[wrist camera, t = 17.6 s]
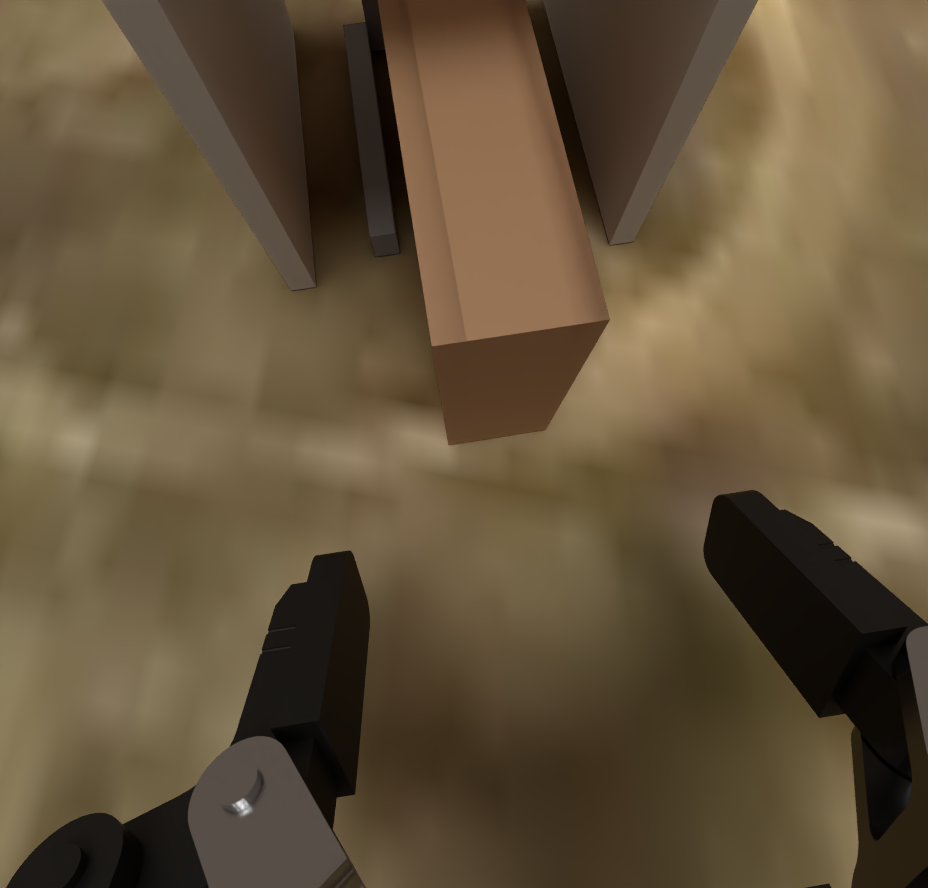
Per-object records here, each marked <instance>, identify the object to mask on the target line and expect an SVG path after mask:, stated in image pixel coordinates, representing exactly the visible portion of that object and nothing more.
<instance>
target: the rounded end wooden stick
mask: <svg viewBox="0 0 928 888" xmlns="http://www.w3.org/2000/svg"><path fill="white" fill-rule="evenodd" d="M378 6H379V12H380V18H381V25H382V31H383V38H384V44H385V50H386V57H387V63H388V70H389V76H390V82H391V89H392V95H393V101H394V108H395V114H396V121H397V127H398V133H399V140H400V146H401V153H402V159H403V165H404V172H405V178H406V185H407V191H408V197H409V204H410V210H411V216H412V223H413V229H414V236H415V242H416V248H417V255H418V261H419V268H420V274H421V280H422V287H423V293H424V300H425V306H426V312H427V319H428V325H429V331H430V338H431V344H432V350H433V356H434V362H435V368H436V374H437V380H438V386H439V392H440V398H441V404H442V409H443V415H444V421H445V427H446V433H447V439H448V445H453V444H459V443H465V442H472V441H478V440H484V439H491V438H497V437H503V436H510V435H516V434H522V433H529V432H535V431H541V430H546V428H547V426H548V425H549V423H550V421H551V419H552V418H553V416H554V414H555V413H556V411H557V409H558V408H559V406H560V404H561V402H562V401H563V399H564V397H565V396H566V394H567V392H568V390H569V389H570V387H571V385H572V384H573V382H574V380H575V378H576V377H577V375H578V373H579V372H580V370H581V368H582V366H583V365H584V363H585V361H586V360H587V358H588V356H589V354H590V353H591V351H592V349H593V348H594V346H595V344H596V343H597V341H598V339H599V337H600V336H601V334H602V332H603V331H604V329H605V327H606V325H607V324H608V322H609V320H610V318H609V314H608V310H607V307H606V303H605V299H604V295H603V292H602V288H601V284H600V280H599V276H598V273H597V269H596V265H595V261H594V257H593V254H592V250H591V246H590V242H589V239H588V235H587V231H586V227H585V223H584V220H583V216H582V212H581V208H580V205H579V201H578V197H577V193H576V189H575V186H574V182H573V178H572V174H571V170H570V167H569V163H568V159H567V155H566V152H565V148H564V144H563V140H562V136H561V133H560V129H559V125H558V121H557V118H556V114H555V110H554V106H553V102H552V99H551V95H550V91H549V87H548V83H547V80H546V76H545V72H544V68H543V65H542V61H541V57H540V53H539V49H538V46H537V42H536V38H535V34H534V31H533V27H532V23H531V19H530V15H529V12H528V8H527V4H526V0H378Z"/></svg>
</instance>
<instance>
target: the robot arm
mask: <svg viewBox="0 0 928 888" xmlns="http://www.w3.org/2000/svg"><path fill="white" fill-rule="evenodd" d="M703 551H704V559H705V562H706V565H707V568H708V570H709V572H710V573H711V575H712V576H713V578H714V579H715V580H716V582H717V583H718V584H719V586H720V587H721V588H722V590H723V591H724V592H725V594H726V595H727V596H728V598H729V599H730V600H731V602H732V603H733V604H734V606H735V607H736V608H737V609H738V611H739V612H740V613H741V615H742V616H743V617H744V619H745V620H746V621H747V623H748V624H749V625H750V627H751V628H752V629H753V631H754V632H755V633H756V635H757V636H758V637H759V639H760V640H761V641H762V643H763V644H764V645H765V647H766V648H767V649H768V651H769V652H770V653H771V655H772V656H773V657H774V659H775V660H776V661H777V663H778V664H779V665H780V667H781V668H782V669H783V671H784V672H785V673H786V675H787V676H788V677H789V679H790V680H791V681H792V682H793V684H794V685H795V686H796V688H797V689H798V690H799V692H800V693H801V694H802V696H803V697H804V698H805V700H806V701H807V702H808V704H809V705H810V706H811V708H812V709H813V710H814V712H815V713H816V714H817V716H818V717H819V718H822V717H828V716H834V715H840V714H846V715H847V716H848V717H849V719H850V720H851V721H852V722H853V724H854V725H855V726H854V728H853V730H852V733H851V746H852V759H853V772H854V786H855V799H856V813H857V826H858V841H859V846H858V857H857V862H856V866H855V869H854V873H853V879H852V886H851V888H928V623H926V622H925V621H924V620H923V619H921V618H920V617H919V616H918V615H917V614H916V613H915V612H913V611H912V610H911V609H910V608H909V607H908V606H907V605H905V604H904V603H903V602H902V601H901V600H900V599H898V598H897V597H896V596H895V595H894V594H893V593H892V592H890V591H889V590H888V589H887V588H886V587H885V586H883V585H882V584H881V583H880V582H879V581H878V580H877V579H875V578H874V577H873V576H872V575H871V574H870V573H868V572H867V571H866V570H865V569H864V568H863V567H862V566H860V565H859V564H858V563H857V562H856V561H855V562H853V561H852V560H851V557H850V556H849V555H848V554H847V553H845V552H844V551H843V550H842V549H841V548H840V547H839V546H834V544H833V541H832V540H830V539H829V538H828V537H827V536H826V535H825V534H824V533H822V532H821V531H820V530H819V529H818V528H817V527H815V526H814V525H813V524H812V523H810V522H808V521H806V520H804V519H802V518H800V517H798V516H796V515H795V514H793V513H791V512H789V511H787V510H779V509H778V508H777V507H775V506H774V505H773V504H772V503H771V502H770V501H769V500H768V499H767V498H766V497H764V496H763V495H762V494H761V493H760V492H758V491H755V490H749V491H743V492H736V493H730V494H723V495H718V496H717V497H716V498H715V499H714V501H713V504H712V509H711V513H710V518H709V523H708V528H707V533H706V537H705V542H704V549H703ZM369 630H370V614H369V606H368V600H367V596H366V593H365V590H364V587H363V584H362V581H361V577H360V574H359V571H358V568H357V565H356V561H355V558H354V555H353V553H352V552H351V551H343V552H336V553H329V554H323V555H316V556H315V557H314V558H313V561H312V564H311V568H310V572H309V576H308V580H307V582H304V583H298V584H292V585H291V586H290V587H289V589H288V590H287V591H286V593H285V594H284V595H283V597H282V598H281V599H280V600H279V602H278V603H277V604H276V606H275V609H274V612H273V615H272V618H271V622H270V625H269V628H268V634H267V635H266V638H265V641H264V644H263V647H262V654H260V657H259V660H258V664H257V667H256V670H255V673H254V676H253V680H252V683H251V686H250V689H249V693H248V696H247V699H246V702H245V705H244V709H243V712H242V715H241V718H240V722H239V725H238V728H237V731H236V734H235V737H234V739H233V741H232V743H231V745H230V747H229V748H228V749H226V750H225V751H223V752H222V753H221V754H220V755H219V756H218V757H216V758H215V760H214V761H213V762H212V763H211V764H210V765H209V766H208V767H207V769H206V770H205V771H204V773H203V774H202V776H201V777H200V779H199V781H198V782H197V784H196V785H195V786H194V787H193V788H191V789H190V790H188V791H187V792H185V793H183V794H181V795H180V796H178V797H176V798H174V799H172V800H170V801H168V802H166V803H164V804H162V805H160V806H158V807H156V808H154V809H152V810H150V811H148V812H146V813H144V814H142V815H140V816H138V817H136V818H134V819H132V820H130V821H128V822H126V823H125V824H123V825H122V824H121V823H120V822H119V821H118V820H117V819H116V818H114V817H113V816H112V815H109V814H106V813H94V814H89V815H85V816H82V817H80V818H77V819H75V820H73V821H71V822H69V823H68V824H66V825H64V826H63V827H61V828H60V829H58V830H57V831H56V832H54V833H53V834H52V835H50V836H49V837H48V838H47V839H46V840H44V841H43V842H42V843H41V844H40V845H39V846H38V847H37V848H36V849H35V850H34V851H33V852H32V853H31V854H30V855H29V856H28V858H27V859H26V860H25V861H24V862H23V864H22V865H21V866H20V867H19V869H18V870H17V872H16V873H15V874H14V876H13V877H12V879H11V880H10V882H9V884H8V885H7V887H6V888H366V887H365V886H364V884H363V882H362V880H361V878H360V877H359V875H358V873H357V871H356V870H355V868H354V866H353V864H352V863H351V861H350V859H349V857H348V856H347V854H346V852H345V850H344V849H343V847H342V845H341V843H340V842H339V840H338V838H337V836H336V834H335V833H334V831H333V824H334V815H335V807H336V798H337V797H343V796H349V795H354V794H355V790H356V778H357V767H358V755H359V744H360V733H361V721H362V710H363V698H364V687H365V675H366V664H367V653H368V641H369ZM807 888H831V886H830V885H829V884H824V885H818V886H813V887H807Z"/></svg>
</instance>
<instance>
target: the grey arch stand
mask: <svg viewBox="0 0 928 888" xmlns="http://www.w3.org/2000/svg"><path fill="white" fill-rule="evenodd" d="M102 1H103V3H104V4H105V6H106V7H107V9H108V10H109V12H110V14H111V15H112V17H113V18H114V20H115V21H116V23H117V24H118V26H119V27H120V29H121V30H122V32H123V33H124V35H125V37H126V38H127V40H128V41H129V43H130V44H131V46H132V47H133V49H134V50H135V52H136V53H137V55H138V56H139V58H140V60H141V61H142V63H143V64H144V66H145V67H146V69H147V70H148V72H149V73H150V75H151V76H152V78H153V79H154V81H155V82H156V84H157V86H158V87H159V89H160V90H161V92H162V93H163V95H164V96H165V98H166V99H167V101H168V102H169V104H170V105H171V107H172V109H173V110H174V112H175V113H176V115H177V116H178V118H179V119H180V121H181V122H182V124H183V125H184V127H185V128H186V130H187V132H188V133H189V135H190V136H191V138H192V139H193V141H194V142H195V144H196V145H197V147H198V148H199V150H200V151H201V153H202V155H203V156H204V158H205V159H206V161H207V162H208V164H209V165H210V167H211V168H212V170H213V171H214V173H215V174H216V176H217V178H218V179H219V181H220V182H221V184H222V185H223V187H224V188H225V190H226V191H227V193H228V194H229V196H230V197H231V199H232V200H233V202H234V204H235V205H236V207H237V208H238V210H239V211H240V213H241V214H242V216H243V217H244V219H245V220H246V222H247V223H248V225H249V227H250V228H251V230H252V231H253V233H254V234H255V236H256V237H257V239H258V240H259V242H260V243H261V245H262V246H263V248H264V250H265V251H266V253H267V254H268V256H269V257H270V259H271V260H272V262H273V263H274V265H275V266H276V268H277V269H278V271H279V273H280V274H281V276H282V277H283V279H284V280H285V282H286V283H287V285H288V286H289V288H290V289H291V291H292V290H299V289H306V288H313V287H316V279H315V267H314V256H313V245H312V233H311V222H310V211H309V199H308V188H307V177H306V165H305V154H304V143H303V131H302V120H301V109H300V97H299V86H298V75H297V63H296V52H295V41H294V29H293V26H292V23H291V20H290V17H289V14H288V11H287V8H286V5H285V2H284V0H102ZM757 1H758V0H543V3H544V6H545V10H546V14H547V17H548V21H549V25H550V28H551V32H552V36H553V39H554V43H555V47H556V50H557V54H558V58H559V61H560V65H561V69H562V72H563V76H564V80H565V83H566V87H567V91H568V94H569V98H570V102H571V105H572V109H573V113H574V117H575V120H576V124H577V128H578V131H579V135H580V139H581V142H582V146H583V150H584V153H585V157H586V161H587V164H588V168H589V172H590V175H591V179H592V183H593V186H594V190H595V194H596V197H597V201H598V205H599V208H600V212H601V216H602V219H603V223H604V227H605V230H606V234H607V238H608V242H609V245H614V244H621V243H628V242H634V240H635V238H636V236H637V234H638V232H639V230H640V228H641V226H642V224H643V222H644V220H645V218H646V216H647V214H648V213H649V211H650V209H651V207H652V205H653V203H654V201H655V199H656V197H657V195H658V193H659V191H660V189H661V187H662V185H663V183H664V181H665V180H666V178H667V176H668V174H669V172H670V170H671V168H672V166H673V164H674V162H675V160H676V158H677V156H678V154H679V152H680V150H681V149H682V147H683V145H684V143H685V141H686V139H687V137H688V135H689V133H690V131H691V129H692V127H693V125H694V123H695V121H696V119H697V118H698V116H699V114H700V112H701V110H702V108H703V106H704V104H705V102H706V100H707V98H708V96H709V94H710V92H711V90H712V88H713V86H714V85H715V83H716V81H717V79H718V77H719V75H720V73H721V71H722V69H723V67H724V65H725V63H726V61H727V59H728V57H729V55H730V54H731V52H732V50H733V48H734V46H735V44H736V42H737V40H738V38H739V36H740V34H741V32H742V30H743V28H744V26H745V24H746V23H747V21H748V19H749V17H750V15H751V13H752V11H753V9H754V7H755V5H756V3H757ZM362 5H363V10H364V15H365V21H366V22H363V23H355V24H347V25H343V27H344V36H345V44H346V52H347V60H348V68H349V76H350V84H351V92H352V100H353V108H354V116H355V124H356V132H357V140H358V148H359V156H360V164H361V173H362V181H363V189H364V197H365V205H366V213H367V221H368V229H369V237H370V240H371V243H372V247H373V250H374V253H375V257H378V256H385V255H392V254H399V253H400V250H399V243H398V236H397V229H396V222H395V215H394V208H393V201H392V194H391V187H390V180H389V173H388V166H387V159H386V152H385V145H384V137H383V130H382V123H381V116H380V109H379V102H378V95H377V88H376V81H375V74H374V67H373V60H372V53H371V51H376V50H384V49H385V44H384V38H383V31H382V25H381V18H380V12H379V6H378V0H362Z"/></svg>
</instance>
